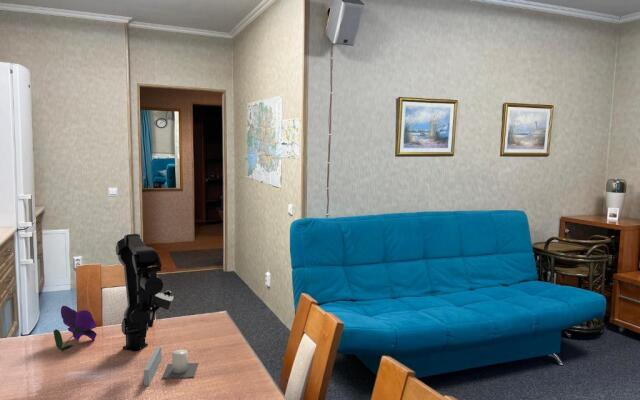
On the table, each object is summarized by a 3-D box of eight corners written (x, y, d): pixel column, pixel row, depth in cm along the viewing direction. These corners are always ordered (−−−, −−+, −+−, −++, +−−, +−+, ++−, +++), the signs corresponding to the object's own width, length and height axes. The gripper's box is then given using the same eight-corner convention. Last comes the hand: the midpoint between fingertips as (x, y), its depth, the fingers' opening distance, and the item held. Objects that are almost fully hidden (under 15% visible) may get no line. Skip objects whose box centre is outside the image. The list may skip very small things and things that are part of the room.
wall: (149, 385, 155) (148, 370, 154) (144, 385, 154) (143, 370, 154) (161, 360, 172) (161, 346, 172) (157, 360, 172) (156, 346, 172)
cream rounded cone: (169, 371, 163) (168, 354, 162) (179, 365, 168) (179, 348, 167) (181, 374, 161) (180, 357, 160) (191, 368, 165) (190, 351, 165)
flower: (85, 364, 180) (106, 335, 190) (69, 337, 171) (92, 308, 182) (51, 360, 183) (73, 332, 194) (34, 333, 175) (58, 305, 185)
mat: (161, 378, 159) (161, 377, 159) (168, 365, 169) (168, 363, 169) (193, 377, 160) (193, 376, 160) (197, 364, 170) (197, 362, 170)
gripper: (165, 295, 156) (166, 342, 158) (176, 278, 174) (177, 321, 176) (128, 295, 155) (130, 343, 157) (143, 279, 173) (144, 322, 175)
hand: (147, 332), depth 166 cm, fingers open, 9 cm apart
